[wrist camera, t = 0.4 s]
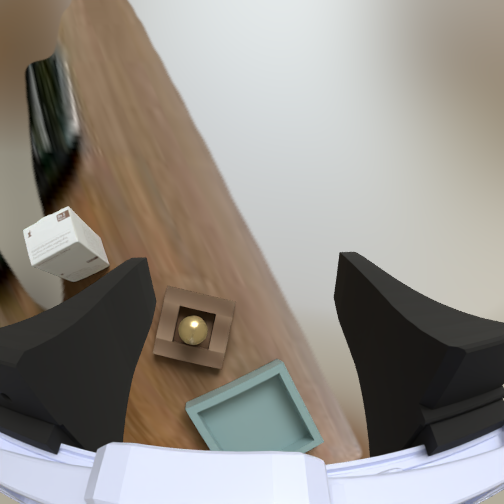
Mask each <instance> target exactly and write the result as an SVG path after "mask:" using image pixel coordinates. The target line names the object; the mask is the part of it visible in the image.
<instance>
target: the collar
mask: <svg viewBox="0 0 504 504" xmlns="http://www.w3.org/2000/svg"><path fill="white" fill-rule="evenodd" d="M235 303H236V301H231V300H227V299H222V298H218V297H213V296H209V295H205V294H201V293H196V292H192V291H188V290H184V289H180V288H176V287H171V286H167V290H166V294H165V298H164V303H163V307H162V312H161V316H160V321H159V325H158V330H157V335H156V340H155V345H154V350H153V354H157V355H161V356H165V357H169V358H173V359H177V360H182V361H186V362H190V363H195V364H199V365H204V366H209V367H214V368H219V369H222V365H223V360H224V355H225V350H226V346H227V341H228V336H229V331H230V327H231V322H232V317H233V312H234V308H235ZM180 306H183V307H187V308H192V309H196V310H200V311H204V312H209V313H213V314H215V319H214V324H213V328H212V333H211V338H210V343H209V347H208V349H207V348H203V347H198V346H194V345H189V344H185V343H181V342H177V341H173V338H174V334H175V329H176V324H177V319H178V315H179V310H180Z"/></svg>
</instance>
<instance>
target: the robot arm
mask: <svg viewBox="0 0 504 504" xmlns="http://www.w3.org/2000/svg"><path fill="white" fill-rule="evenodd" d="M334 301H335V306H336V310H337V314H338V319H339V322H340V325H341V327H342V330H343V333H344V336H345V338H346V341H347V344H348V347H349V349H350V352H351V355H352V358H353V360H354V363H355V366H356V370H357V373H358V377H359V382H360V387H361V391H362V396H363V403H364V409H365V415H366V422H367V430H368V438H369V450H370V458H366V459H360V460H355V461H349V462H343V463H336V464H329V465H325V463H324V461H323V460H321V459H319V458H317V457H314V456H311V455H307V454H304V453H301V452H282V451H250V452H234V451H204V450H189V449H177V448H167V447H158V446H150V445H143V444H137V443H123V434H124V425H125V416H126V410H127V403H128V397H129V392H130V387H131V383H132V378H133V374H134V371H135V367H136V365H137V362H138V359H139V356H140V354H141V351H142V348H143V345H144V343H145V340H146V337H147V335H148V332H149V329H150V326H151V324H152V320H153V315H154V311H155V306H156V298H155V293H154V289H153V285H152V280H151V276H150V272H149V267H148V262H147V258H131V259H129V260H127V261H125V262H124V263H122V264H121V265H119V266H118V267H116V268H115V269H113V270H112V271H110V272H109V273H108V274H106V275H105V276H103V277H102V278H100V279H99V280H98V281H96V282H95V283H93V284H92V285H90V286H89V287H87V288H85V289H84V290H82V291H81V292H79V293H78V294H76V295H75V296H73V297H71V298H70V299H68V300H66V301H64V302H63V303H61V304H59V305H57V306H55V307H53V308H51V309H49V310H47V311H44V312H42V313H40V314H38V315H36V316H33V317H31V318H29V319H26V320H23V321H21V322H18V323H15V324H12V325H8V326H5V327H1V328H0V492H1V493H3V494H4V495H6V496H8V497H10V498H11V499H13V500H15V501H17V502H19V503H20V504H479V503H481V502H483V501H485V500H486V499H488V498H490V497H492V496H493V495H495V494H497V493H498V492H500V491H502V490H504V401H503V399H502V398H504V388H503V386H502V385H503V384H504V323H503V322H498V321H493V320H489V319H484V318H480V317H477V316H474V315H470V314H467V313H464V312H461V311H459V310H456V309H453V308H451V307H448V306H446V305H443V304H441V303H439V302H437V301H434V300H432V299H430V298H428V297H426V296H424V295H422V294H420V293H419V292H417V291H415V290H413V289H411V288H410V287H408V286H407V285H405V284H403V283H402V282H400V281H398V280H397V279H395V278H394V277H392V276H391V275H389V274H388V273H386V272H385V271H383V270H382V269H381V268H379V267H378V266H376V265H375V264H373V263H372V262H370V261H369V260H367V259H366V258H364V257H363V256H361V255H360V254H358V253H356V252H340V253H339V262H338V271H337V278H336V285H335V292H334Z"/></svg>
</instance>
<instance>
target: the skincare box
mask: <svg viewBox="0 0 504 504" xmlns="http://www.w3.org/2000/svg"><path fill="white" fill-rule="evenodd" d="M23 233H24V238H25V242H26V246H27V250H28V254H29V258H30V261H31V265H32V266H33V267H35V268H38V269H41V270H43V271H46V272H48V273H51V274H53V275H56V276H58V277H61V278H63V279H66V280H69V281H72V282H76V281H78V280H81V279H83V278H86V277H88V276H90V275H92V274H95V273H97V272H99V271H101V270H103V269H105V268H106V267H108V266H109V262H108V259H107V256H106V254H105V251H104V248H103V245H102V241H101V238H100V237H99V236H98V235H97V234H96V233H95V232H93V230H91V229H90V227H88V226H87V225H86V224H85V223H84V222H83V221H82V220H81V219H80V218H79V217H78V216H77V215H76V214H75V213H74V212H73V211H72V209H71V208H70V207H68V206H67V207H65V208H63V209H61V210H59V211H58V212H56V213H54V214H51V215H48V216H46V217H44V218H42V219H40V220H39V221H38V222H37V223H35V224H33V225H31V226H30V227H28V228H26V229H24V230H23Z"/></svg>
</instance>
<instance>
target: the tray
mask: <svg viewBox="0 0 504 504" xmlns="http://www.w3.org/2000/svg"><path fill="white" fill-rule="evenodd" d="M185 409H186V411H187V413H188V415H189V416H190V418H191V420H192V421H193V423H194V425H195V426H196V428H197V430H198V431H199V433H200V434H201V436H202V438H203V439H204V441H205V442H206V444H207V445H208V447H209V449H210V450H211V451H234V452H250V451H282V452H301V453H305V452H307V451H309V450H311V449H313V448H314V447H316V446H318V445H319V444H321V443H323V442H324V441H323V439H322V437H321V435H320V433H319V431H318V429H317V427H316V426H315V424H314V422H313V420H312V418H311V416H310V414H309V412H308V410H307V408H306V406H305V404H304V402H303V400H302V398H301V396H300V395H299V393H298V391H297V389H296V387H295V385H294V383H293V381H292V379H291V377H290V375H289V373H288V371H287V369H286V367H285V365H284V363H283V362H282V361H280V360H278V359H275V360H274V361H272V362H270V363H268V364H266V365H264V366H262V367H260V368H258V369H256V370H254V371H252V372H250V373H248V374H246V375H244V376H242V377H240V378H238V379H236V380H234V381H232V382H230V383H228V384H226V385H224V386H222V387H219V388H217V389H215V390H213V391H211V392H209V393H206V394H204V395H202V396H200V397H197V398H195V399H193V400H191V401H188V402H186V408H185Z"/></svg>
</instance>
